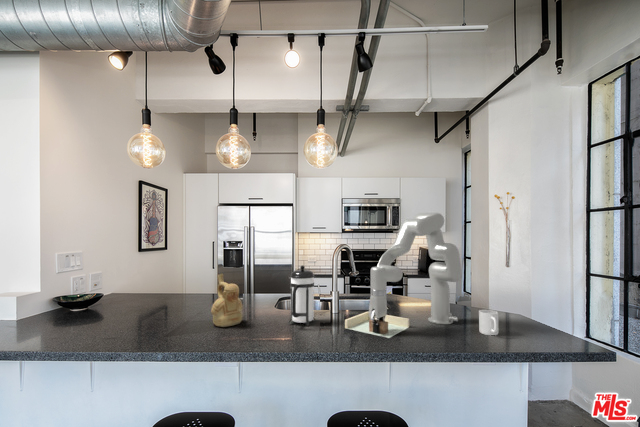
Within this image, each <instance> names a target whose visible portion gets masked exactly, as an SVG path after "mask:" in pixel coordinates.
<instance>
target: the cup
mask: <svg viewBox="0 0 640 427" xmlns="http://www.w3.org/2000/svg"><path fill="white" fill-rule="evenodd" d="M478 329H479V333H480V334H483V335H485V336H491V335H495V336H498V335H499V312H498V311H496V310H492V309H479V310H478Z"/></svg>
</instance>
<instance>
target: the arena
mask: <svg viewBox="0 0 640 427" xmlns="http://www.w3.org/2000/svg"><path fill="white" fill-rule="evenodd" d="M375 317H376V316H375ZM370 318H371V317H369V311H365V312H362V313H359V314H356V315H354V316H352V317H349V318H346V319H344V329H347V330H353V331H355V332H360V333H363V334H369V335H370V334H371V335H373V336H378V337H383V338H387V339H390V338H392V337H393V336H395V335H397V334H399V333H401V332H403V331H405V330H407V329H408V328H410V318H407V317H401V316H395V315H391V314H389V315H388V314H386V316H385V321H386V322H388V333H386V334H378V333H374V332H370V331H369V321H370ZM376 320H377V319H376Z"/></svg>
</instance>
